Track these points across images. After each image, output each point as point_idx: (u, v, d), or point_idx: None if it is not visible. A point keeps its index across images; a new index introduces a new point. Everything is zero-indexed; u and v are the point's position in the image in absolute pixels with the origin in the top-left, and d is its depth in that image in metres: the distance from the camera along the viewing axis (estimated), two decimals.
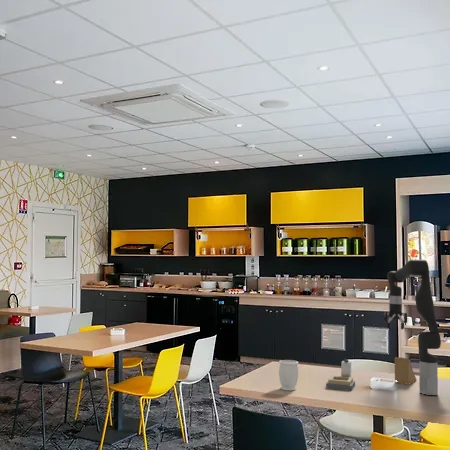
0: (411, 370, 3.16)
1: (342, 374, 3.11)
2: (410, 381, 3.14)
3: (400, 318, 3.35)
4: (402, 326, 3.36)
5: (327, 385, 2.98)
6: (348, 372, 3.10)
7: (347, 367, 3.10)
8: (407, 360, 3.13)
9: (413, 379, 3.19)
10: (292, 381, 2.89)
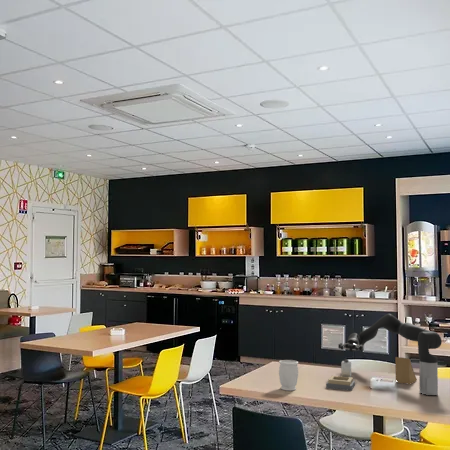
0: (412, 370, 3.17)
1: (342, 374, 3.11)
2: (411, 381, 3.15)
3: (354, 344, 3.30)
4: (356, 346, 3.25)
5: (327, 385, 2.98)
6: (348, 372, 3.10)
7: (347, 367, 3.10)
8: (408, 360, 3.14)
9: (414, 379, 3.19)
10: (292, 381, 2.89)
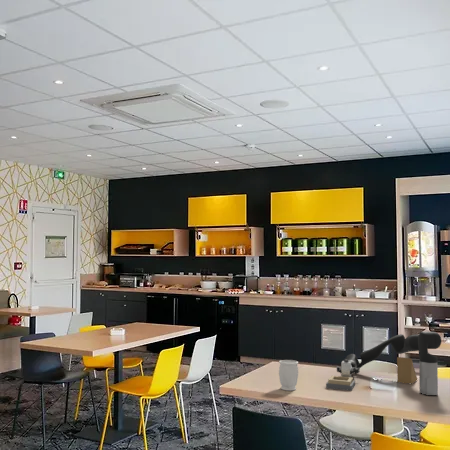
0: (413, 370, 3.18)
1: (342, 374, 3.11)
2: (413, 381, 3.15)
3: None
4: (350, 370, 3.11)
5: (327, 385, 2.98)
6: (348, 372, 3.10)
7: (347, 367, 3.10)
8: (410, 360, 3.14)
9: (415, 379, 3.20)
10: (292, 381, 2.89)
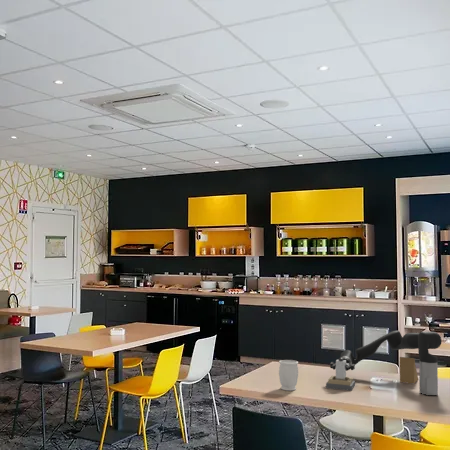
0: (415, 369, 3.19)
1: (336, 373, 3.01)
2: (415, 380, 3.16)
3: (346, 363, 3.07)
4: (346, 366, 3.01)
5: (327, 385, 2.98)
6: (342, 371, 3.00)
7: (341, 366, 3.00)
8: (413, 360, 3.15)
9: (416, 378, 3.21)
10: (292, 381, 2.89)
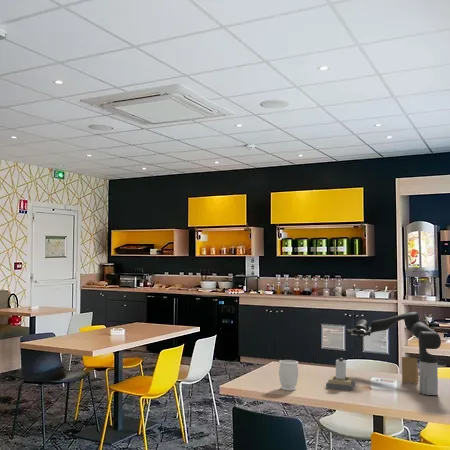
0: (417, 369, 3.20)
1: (336, 373, 3.01)
2: (417, 380, 3.17)
3: (362, 329, 3.24)
4: (364, 332, 3.18)
5: (327, 385, 2.98)
6: (342, 371, 3.00)
7: (341, 366, 3.00)
8: (415, 359, 3.16)
9: None
10: (292, 381, 2.89)
